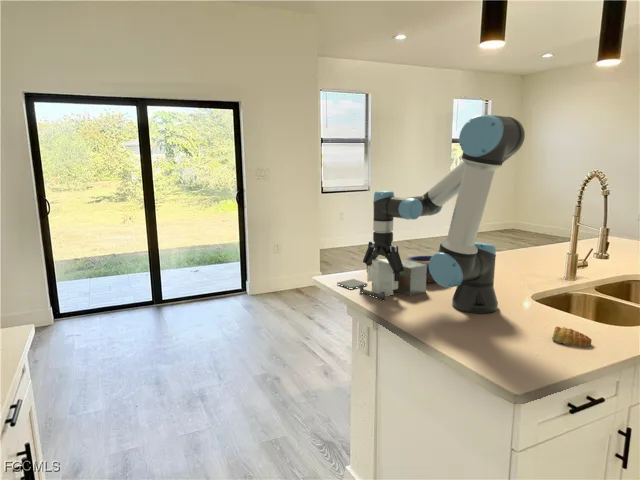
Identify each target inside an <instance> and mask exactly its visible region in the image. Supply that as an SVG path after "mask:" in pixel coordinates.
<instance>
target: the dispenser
mask: <svg viewBox="0 0 640 480" xmlns="http://www.w3.org/2000/svg"><path fill="white" fill-rule="evenodd" d="M385 259H387V258H385ZM400 259H401V262H402V265H403V268H404V271H403V272H400V275H399V281H398V289H395V291H394V292H396V291H398V292H397V293H399V292H400V294H402V293H404V294H403V295H405V294H406V295H405V296H408V295H409V297H412V296H411V295H413V296H416V295H419V293H420V294H423V293H426V292H427V282H426V273H427V265H426V264H421V263H417V262H413V261H409V260H406V259H403V258H400ZM360 292H363V293H366V294H368V295H371V296H374V297H377V298H379V299H378V300H380V299H381V300H380V301H382V300H384V301H385V300H386V296H385V292H381V295H380V294H377V293H374V292H372V290H368V289H365V288H364V287H363V285H360V288H359V293H360ZM422 292H423V293H422ZM363 293H362V294H363ZM366 294H365V295H366ZM415 294H416V295H415ZM368 295H367V296H368ZM371 296H370V297H371ZM374 297H373V298H374ZM377 298H376V299H377Z"/></svg>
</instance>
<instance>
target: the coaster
mask: <svg viewBox="0 0 640 480" xmlns="http://www.w3.org/2000/svg"><path fill="white" fill-rule="evenodd" d="M337 284H340V285H343V286H345V287H348V288H356V287H360V285H363V286H364V285H367V286H368V283H367V282H364V281H361V280H358V279H355V278H352V279H347V280H342V281H339V282H338V281H337V283H336V285H337ZM345 287H344V288H345ZM364 287H365V286H364ZM356 289H357V288H356Z"/></svg>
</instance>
